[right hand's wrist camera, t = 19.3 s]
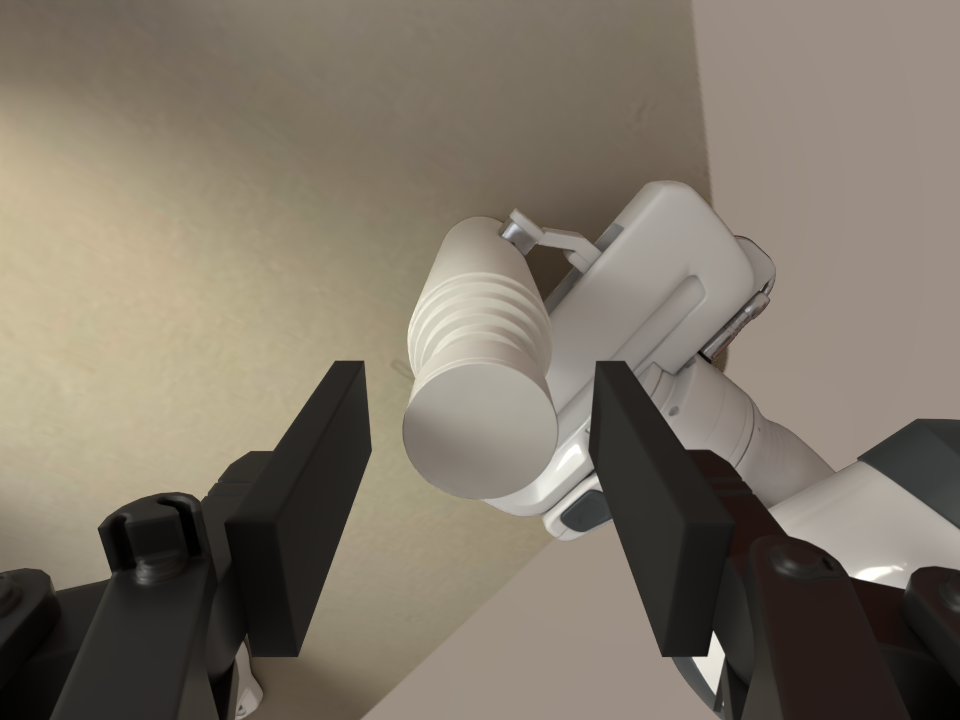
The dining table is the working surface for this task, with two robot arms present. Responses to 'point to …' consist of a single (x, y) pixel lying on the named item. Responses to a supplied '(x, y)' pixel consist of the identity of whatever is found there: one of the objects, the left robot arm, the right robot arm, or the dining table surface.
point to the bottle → (479, 297)
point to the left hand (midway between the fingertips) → (466, 270)
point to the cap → (480, 420)
